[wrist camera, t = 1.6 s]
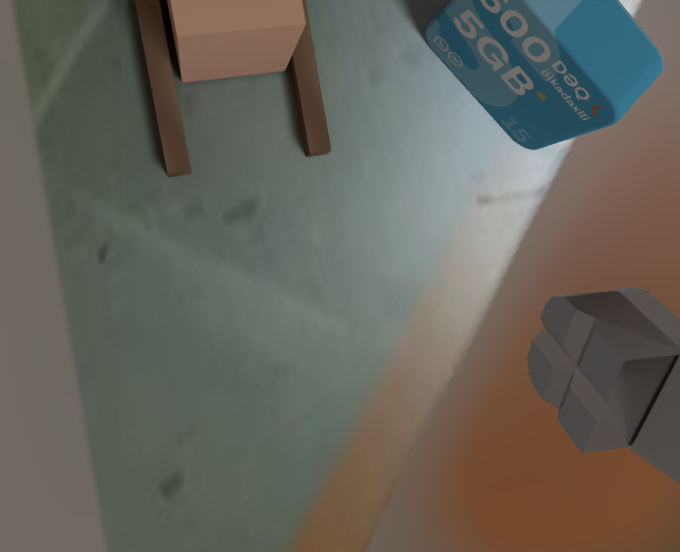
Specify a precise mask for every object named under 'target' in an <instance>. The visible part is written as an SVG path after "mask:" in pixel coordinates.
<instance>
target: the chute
mask: <svg viewBox="0 0 680 552" xmlns="http://www.w3.org/2000/svg"><path fill="white" fill-rule="evenodd" d="M302 4H303V10H304V16H305V21H306V25H305V27H304V29H303V32H302V34H301V36H300V38H299V41H298V43H297V45H296V47H295V49H294V52H293V54H292V56H291V58H290V67H291V72H292V78H293V84H294V89H295V95H296V101H297V107H298V112H299V118H300V124H301V129H302V135H303V141H304V147H305V152H306V157H311V156H317V155H324V154H328V153H329V152H330V151H331V146H330V141H329V135H328V129H327V123H326V117H325V112H324V106H323V100H322V94H321V88H320V83H319V77H318V71H317V65H316V59H315V53H314V48H313V42H312V36H311V30H310V24H309V19H308V13H307V7H306V1H305V0H302ZM135 5H136V10H137V15H138V21H139V26H140V31H141V36H142V42H143V47H144V52H145V58H146V63H147V68H148V73H149V79H150V84H151V89H152V95H153V100H154V105H155V110H156V116H157V121H158V126H159V132H160V137H161V142H162V147H163V153H164V158H165V163H166V169H167V174H168V177H173V176H180V175H187V174H191V169H190V163H189V158H188V152H187V147H186V142H185V136H184V131H183V126H182V120H181V115H180V110H179V104H178V99H177V94H176V88H175V83H174V77H173V72H172V67H171V61H170V56H169V51H168V45H167V40H166V35H165V29H164V24H163V19H162V13H161V8H160V2H159V0H135Z"/></svg>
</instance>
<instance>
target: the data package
mask: <svg viewBox="0 0 680 552" xmlns="http://www.w3.org/2000/svg"><path fill="white" fill-rule="evenodd" d="M425 36H426V39H427V42H428V44H429V45H430V47H431V48H432V50H433V51H434V52H435V53H436V54H437V55H438V57H439V58H440V59H441V60H442V61H443V62H444V63H445V64H446V65H447V67H448V68H449V69H450V70H451V71H452V72H453V73H454V74H455V75H456V77H457V78H458V79H459V80H460V81H461V82H462V83H463V84H464V85H465V87H466V88H467V89H468V90H469V91H470V92H471V93H472V94H473V95H474V97H475V98H476V99H477V100H478V101H479V102H480V103H481V104H482V105H483V107H484V108H485V109H486V110H487V111H488V112H489V113H490V114H491V115H492V117H493V118H494V119H495V120H496V121H497V122H498V123H499V124H500V125H501V127H502V128H503V129H504V130H505V131H506V132H507V133H508V134H509V135H510V137H511V138H512V139H513V140H514V141H515V142H517V143H518V144H519V145H521V146H523V147H525V148H527V149H531V150H536V149H540V148H543V147H546V146H549V145H552V144H555V143H558V142H561V141H564V140H568V139H571V138H574V137H577V136H580V135H583V134H586V133H589V132H592V131H595V130H598V129H601V128H604V127H608V126H611V125H613V124H615V123H616V122H618V121H619V120H620V118H621V117H622V116H623V115H624V114H625V113H626V112H627V111H628V110H629V108H630V107H631V106H632V105H633V104H634V103H635V102H636V101H637V100H638V98H639V97H640V96H641V95H642V94H643V93H644V92H645V91H646V90H647V88H648V87H649V86H650V85H651V84H652V83H653V82H654V81H655V79H656V78H657V77H658V76H659V75H660V74H661V72H662V70H663V58H662V55H661V53H660V51H659V50H658V48H657V47H656V46H655V45H654V43H653V42H652V41H651V40H650V38H649V37H648V36H647V35H646V34H645V32H644V31H643V30H642V29H641V27H640V26H639V25H638V24H637V23H636V21H635V20H634V19H633V18H632V16H631V15H630V14H629V13H628V11H627V10H626V9H625V8H624V7H623V5H622V4H621V3H620V2H619V0H451V1H450V2H449V3H448V4H447V5H446V6H445V7H444V8H443V9H442V10H441V11H440V12H439V13H438V15H437V16H436V17H435V18H434V19H433V20H432V21H431V22H430V23H429V24H428V25H427V26H426V29H425Z"/></svg>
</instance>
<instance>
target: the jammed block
mask: <svg viewBox="0 0 680 552" xmlns="http://www.w3.org/2000/svg"><path fill="white" fill-rule="evenodd" d="M167 4H168V10H169V15H170V20H171V26H172V31H173V37H174V42H175V47H176V53H177V58H178V64H179V69H180V74H181V80H182V83H185V82H194V81H202V80H211V79H220V78H228V77H237V76H245V75H254V74H263V73H271V72H280V71H285V69H286V67H287V65H288V63H289V61H290V58H291V56H292V54H293V52H294V49H295V47H296V45H297V43H298V41H299V38H300V36H301V34H302V32H303V29H304V27H305V25H306V21H305V16H304V10H303V4H302V0H167Z"/></svg>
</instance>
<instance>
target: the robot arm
mask: <svg viewBox="0 0 680 552" xmlns="http://www.w3.org/2000/svg"><path fill="white" fill-rule="evenodd" d="M541 320H542V323H543V325H544V327H545V329H544V330H543V331H542V332H540V333H539V334H538V335H537V336H536V337H535V338H534V339H533V340H532V343H531V347H530V350H529V353H528V357H527V359H528V370H529V376H530V379H531V381H532V384H533V386H534V388H535V389H536V391H537V392H538V394H539V395H540V397H541V398H542V399H543V400H545V401H547V402H549V403H550V404H552V405H554V406H556V407H558V419H557V420H558V421H559V423H560V424H561V426H562V427H563V428H564V430H565V431H566V432H567V434H568V435H569V436H570V438H571V439H572V440H573V442H574V443H575V445H576V446H577V447H578V449H579V450H580V452H581V453H588V452H595V451H603V450H610V449H618V448H626V447H631V449H630V450H632V451H633V452H634V453H636V454H637V455H639V456H640V457H642V458H643V459H645V460H646V461H648V462H649V463H650V464H652V465H653V466H655V467H656V468H657V469H659V470H660V471H662V472H663V473H665V474H666V475H668V476H669V477H670V478H672V479H673V480H675V481H676V482H678V483H679V484H680V319H679V318H678V317H677V316H676V315H675V314H674V313H672V311H670V310H669V309H668V308H667V307H666V306H665V305H664V304H662V303H661V302H660V301H659V300H658V299H657V298H656V297H655V296H653V295H652V294H651V293H650V292H649V291H646V290H644V289H641V288H638V287H635V288H626V289H617V290H610V291H608V292H595V293H585V294H574V295H562V296H553V297H552V298H551V299H550V300H549V301H548V302H547V303H546V304H545V306H544V309H543V312H542V315H541Z"/></svg>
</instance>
